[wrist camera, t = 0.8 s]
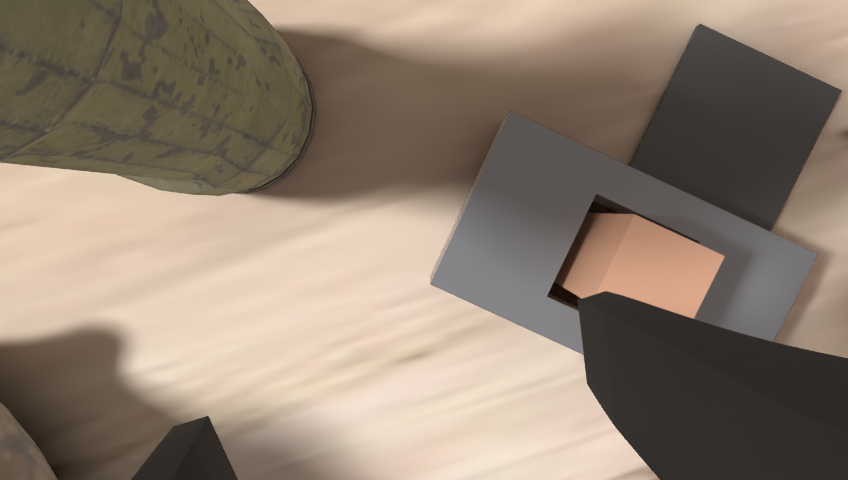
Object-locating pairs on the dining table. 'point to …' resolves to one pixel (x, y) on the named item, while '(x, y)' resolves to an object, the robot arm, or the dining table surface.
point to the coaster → (734, 127)
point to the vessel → (20, 452)
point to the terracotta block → (638, 263)
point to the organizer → (561, 220)
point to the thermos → (153, 92)
